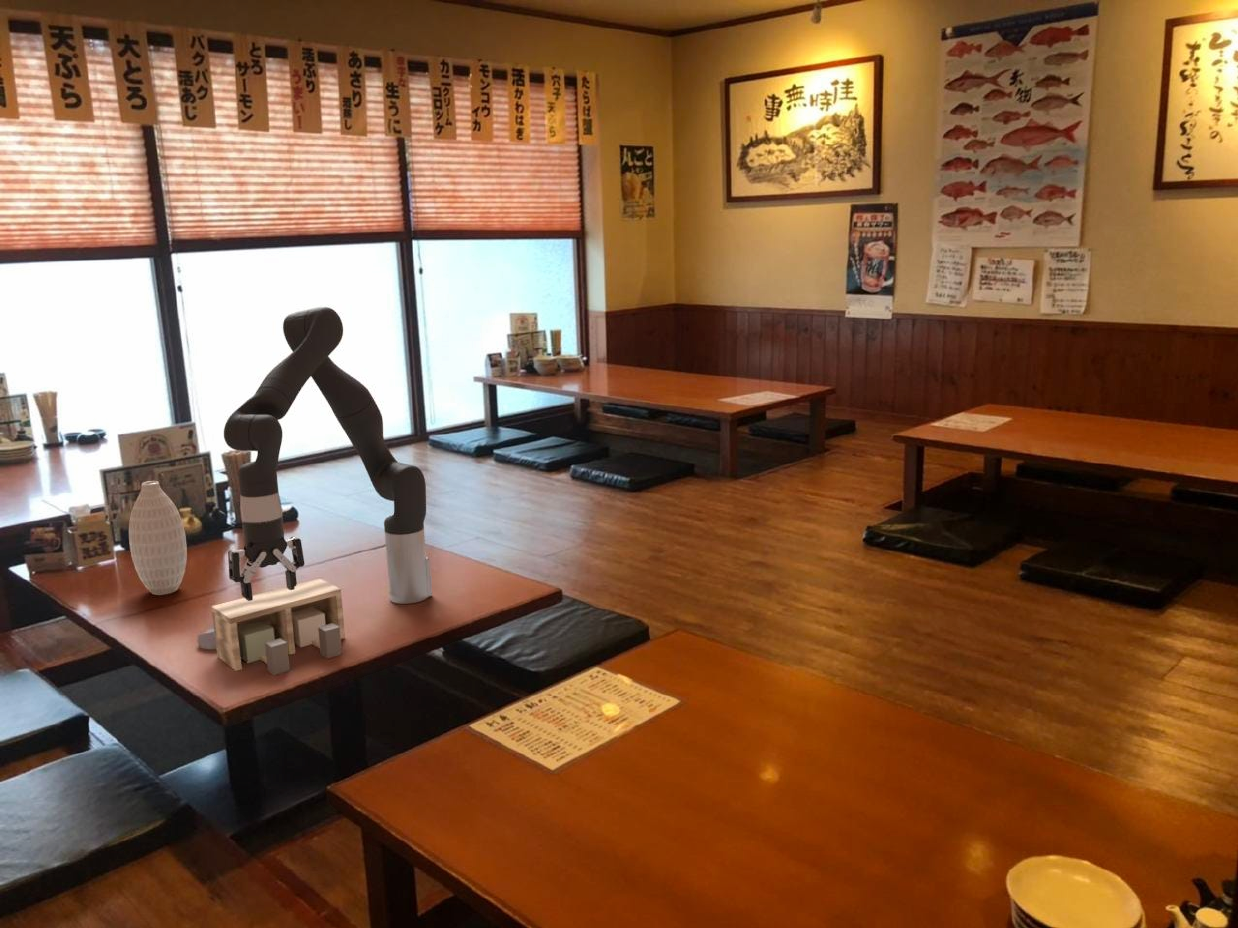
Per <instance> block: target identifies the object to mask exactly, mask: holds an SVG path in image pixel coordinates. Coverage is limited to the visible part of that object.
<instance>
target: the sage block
mask: <svg viewBox="0 0 1238 928" xmlns="http://www.w3.org/2000/svg"><path fill="white" fill-rule="evenodd" d="M237 632H238V640H239V649H240V657H241V660H243V661H245V662H246V663H247V664H249V663H252V662H257V661H262V662H264V663H265V665H267V671H268V672H269V673H270V674H272V675H274V676H278V675H279V674H282V673H287V672H289V671H291V669H290V660H289V659H290V658H289V653H288V648H287V642H285V641H284V640H282V639H281V638H279V639H276V640H275V638H274V629H273V627H271V626H270V625H268V624H267V623H265V622H263V621H262V620H261V621H258V622H254V623H250V624H247V625H243V626H239V627H237Z"/></svg>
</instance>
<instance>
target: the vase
mask: <svg viewBox="0 0 1238 928" xmlns="http://www.w3.org/2000/svg"><path fill="white" fill-rule="evenodd" d="M130 512H131V513H130V516H129V523H128V540H129V543H128V544H129V550H130V556H131V559H132V563H133V565H134V568H135V571H136V573H137V575H138V577H139V579H140V581H141V583H142V585H143V586H144V587H145V588H146V589H147V590H148V591H149V592H150V594H152V595H154V596H155V595H156V596H164V595H170V594H173V593H174V592H176V591H178V589H179V587H180V585H181V583H182V581H183V578H184V576H185V571H186V565H187V557H188V556H187V555H188V553H187V552H188V550H187V547H188V546H187V538H186V532H185V527H184V526H185V525H184V523H183V520H182V517H181V514H180V512H179V510H178V508H177V506H176V505H175V503H174V502H173V501H172V499H171V498H170V497H169V496H168V495H167V493H165V491H164V490H163V489H162V487H161V485H160V482H159V481H157V480H149V481H144V482H142V483H141V490H140V492H139V495H138V496H137V498H136V500H135V502H134V504H133V507H132V510H131V511H130Z"/></svg>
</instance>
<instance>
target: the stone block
mask: <svg viewBox="0 0 1238 928" xmlns="http://www.w3.org/2000/svg"><path fill="white" fill-rule="evenodd" d="M197 644H198V646H199V648H200V649H205V650H217V648H216V640H215V632H214V624H212V626H211V627H209V628H208V629H207V630H206V631H205V632H202V633H200V634H198V635H197Z"/></svg>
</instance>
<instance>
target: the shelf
mask: <svg viewBox="0 0 1238 928" xmlns="http://www.w3.org/2000/svg"><path fill="white" fill-rule="evenodd" d="M294 587H295V589H294V590H289V589H288V588H287V586H285V587H281V588H277V589H274V590H270V591H266V592H262V593H258V594H254V595H253V594H252V596H253V600H251V601H248V600H246V599H245V598H244V597H242V598H239V599H238V598H237V599H234V600H230V601H227V602H223V603H219V604H215V605H211V607H210V608H211V615H212V621H213V622H212V624H213V625H214V632H215V640H216V648H217V649H216V653H217V654H216V655H217V658H219V659H220V660H221V661H222V662H224V663H225V664H226V665H228V666H229V667H231V668H232V669H233V671H240V670H242V669H243V666H242V658H241V657H240V649H239V640H238V632H237V627H239V626H243V625H247V624H250V623H254V622H258V621H261V620H262V621H263V622H265V623H267V624H268V625H270V626H271V627H273V629H274V638H275V640H276V639H279V638H281V639H282V640H284V641H285V642H287V648H288V655H293V654H295V653H296V646H295V645H296V644H295V643H294V634H293V625H292V615H291V612H294V611H298V610H302V609H305V608H309V607H314V608H316V609H317V610H319V611H321V612H323V613H324V614H325V624H326V625H328V624H331V623H333V624H335V625H337V626H338V627H340V638H341V640H343V639H346V631H345V630H346V629H345V620H344V609H343V608H344V607H343V599H342V598H343V597H342V589H341V588H339V587H337V586H336V585H334V584H332V583H330V582H328V581H326V580H324V579H321V578H318V579H316V578H315V579H313V580H309V581H305V582H301V583H297V584H296V586H294Z"/></svg>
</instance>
